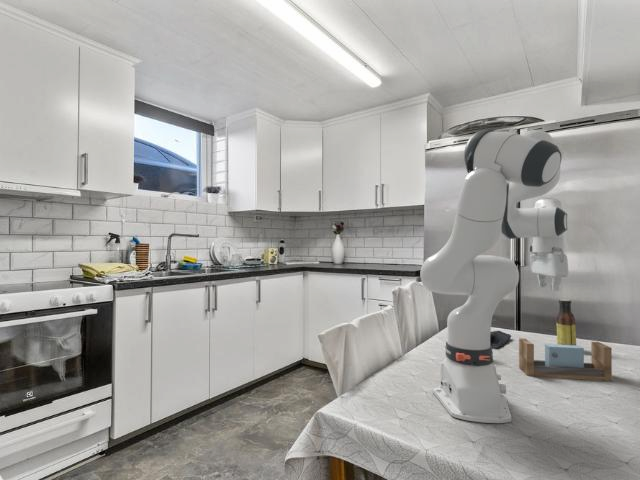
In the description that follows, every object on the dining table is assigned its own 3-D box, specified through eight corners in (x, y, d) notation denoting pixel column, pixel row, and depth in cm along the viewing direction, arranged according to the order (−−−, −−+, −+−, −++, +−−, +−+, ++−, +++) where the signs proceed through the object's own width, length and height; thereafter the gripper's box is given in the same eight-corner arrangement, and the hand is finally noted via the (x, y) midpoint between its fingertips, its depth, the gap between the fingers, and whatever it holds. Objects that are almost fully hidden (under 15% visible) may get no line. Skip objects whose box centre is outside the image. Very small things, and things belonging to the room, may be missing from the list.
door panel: (585, 374, 113) (585, 349, 113) (550, 372, 115) (550, 347, 115) (578, 370, 117) (578, 345, 117) (545, 368, 119) (545, 344, 119)
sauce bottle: (570, 347, 145) (570, 298, 145) (580, 352, 139) (579, 301, 139) (553, 347, 146) (553, 298, 146) (562, 351, 140) (561, 300, 140)
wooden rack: (612, 381, 110) (612, 348, 110) (527, 375, 115) (527, 344, 115) (597, 371, 118) (597, 341, 118) (518, 367, 122) (518, 337, 122)
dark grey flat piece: (518, 341, 156) (518, 330, 156) (495, 351, 142) (495, 339, 142) (483, 334, 168) (483, 324, 168) (459, 343, 154) (459, 332, 154)
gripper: (574, 247, 110) (574, 292, 110) (545, 247, 130) (546, 285, 130) (551, 247, 111) (552, 292, 111) (526, 247, 132) (527, 285, 131)
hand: (548, 288), depth 121 cm, fingers open, 8 cm apart
